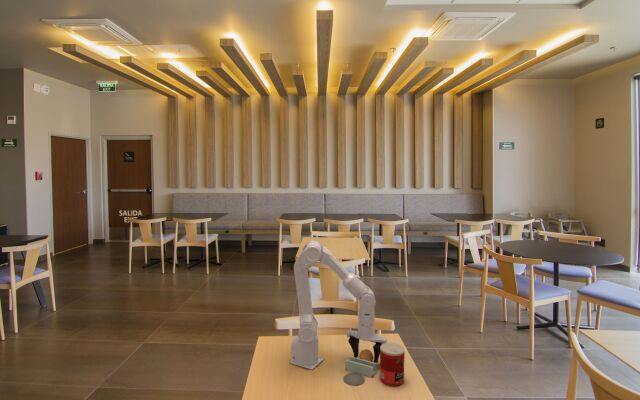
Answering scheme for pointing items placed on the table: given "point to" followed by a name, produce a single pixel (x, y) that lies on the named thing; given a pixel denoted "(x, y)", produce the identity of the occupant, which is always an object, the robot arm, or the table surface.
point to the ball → (366, 355)
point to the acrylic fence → (361, 366)
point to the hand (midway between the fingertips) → (366, 359)
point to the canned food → (392, 364)
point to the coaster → (354, 379)
